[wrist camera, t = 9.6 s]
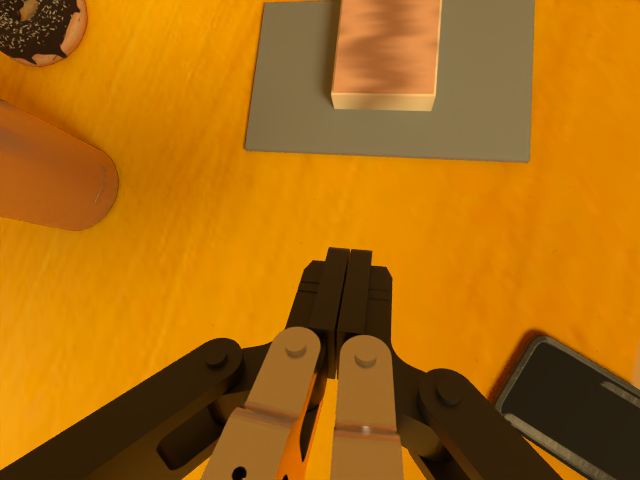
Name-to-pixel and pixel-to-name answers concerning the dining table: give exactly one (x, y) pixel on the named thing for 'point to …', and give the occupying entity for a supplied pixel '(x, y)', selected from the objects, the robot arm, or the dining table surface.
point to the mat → (397, 125)
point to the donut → (41, 29)
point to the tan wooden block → (387, 55)
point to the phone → (573, 410)
